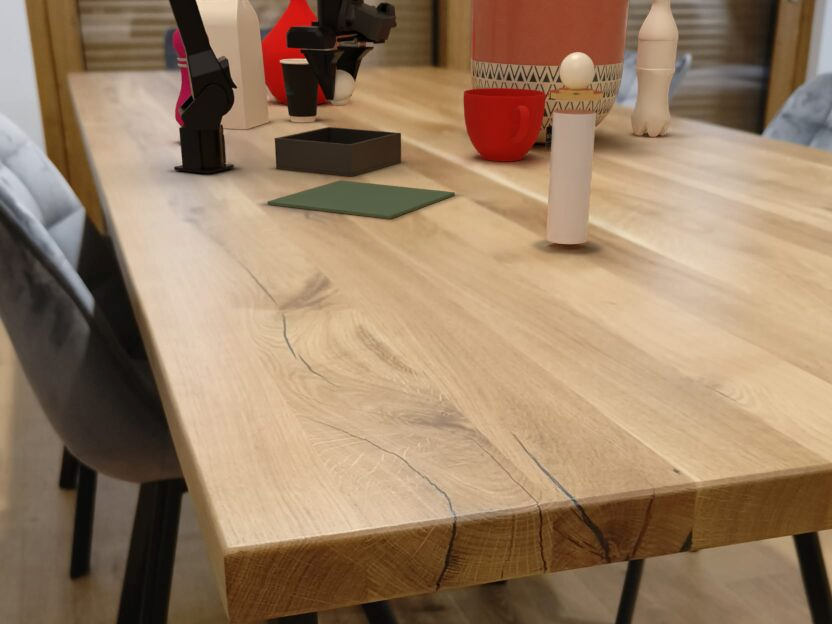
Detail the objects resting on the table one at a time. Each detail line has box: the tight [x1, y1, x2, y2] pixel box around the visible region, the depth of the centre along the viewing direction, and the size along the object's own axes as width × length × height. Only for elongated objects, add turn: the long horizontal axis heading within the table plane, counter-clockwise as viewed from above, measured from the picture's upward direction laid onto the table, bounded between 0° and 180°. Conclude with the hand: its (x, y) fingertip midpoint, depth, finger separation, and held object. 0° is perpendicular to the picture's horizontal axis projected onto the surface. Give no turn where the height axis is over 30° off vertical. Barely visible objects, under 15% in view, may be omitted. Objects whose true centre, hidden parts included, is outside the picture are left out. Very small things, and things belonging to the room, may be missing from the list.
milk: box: [196, 0, 270, 130], centre depth 206 cm, size 12×12×26 cm
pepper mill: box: [171, 28, 209, 127], centre depth 186 cm, size 7×7×20 cm
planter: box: [470, 0, 631, 144], centre depth 191 cm, size 27×27×27 cm
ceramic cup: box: [463, 88, 546, 162], centre depth 175 cm, size 13×17×10 cm
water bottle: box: [630, 0, 680, 138], centre depth 200 cm, size 7×7×25 cm
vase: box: [261, 0, 338, 105], centre depth 239 cm, size 18×18×30 cm
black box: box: [274, 126, 402, 177], centre depth 170 cm, size 15×13×4 cm
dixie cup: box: [280, 59, 319, 123], centre depth 215 cm, size 8×8×11 cm
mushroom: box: [329, 70, 356, 107], centre depth 165 cm, size 5×5×5 cm
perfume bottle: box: [544, 52, 603, 245], centre depth 119 cm, size 6×6×20 cm
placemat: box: [267, 179, 456, 220], centre depth 146 cm, size 18×18×1 cm
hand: (338, 98), depth 166 cm, fingers closed on mushroom, 5 cm apart
